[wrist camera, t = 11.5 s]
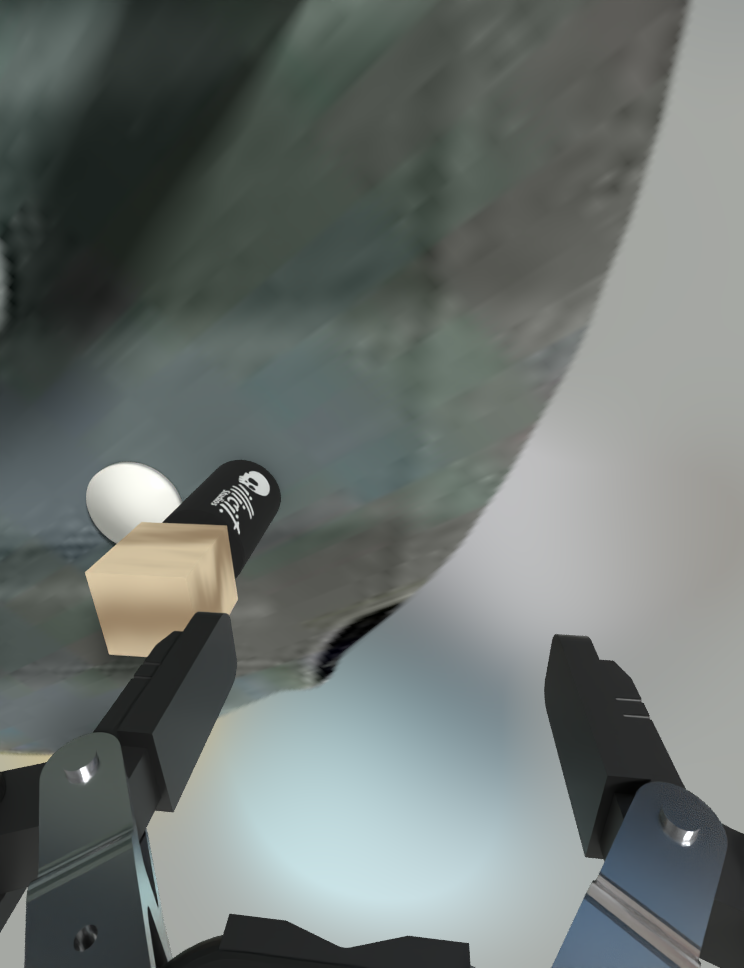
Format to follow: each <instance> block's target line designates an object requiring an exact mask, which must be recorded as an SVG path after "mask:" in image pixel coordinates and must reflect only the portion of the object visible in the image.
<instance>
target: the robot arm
mask: <svg viewBox="0 0 744 968" xmlns="http://www.w3.org/2000/svg"><path fill="white" fill-rule="evenodd" d="M236 669H237V658H236V652H235V645H234V639H233V633H232V626H231V620H230V617H229V615H228V614H227V613H216V612H200V611H199V612H196V613H195V614H194V616H193V617H192V618H191V620H190V621H189V623H188V624H187V626H186V627H185V629H184V630H183V631H173V632H172V633H171V634H169V635H168V636H167V637H165V638H164V639H163V640H161V641H160V642H159V643H158V644H156V645H155V647H154V648H153V650H152V651H151V652H150V654H149V655H148V656H147V658H146V659H145V661H144V664H143V665H141V666H140V668H139V669H138V670H137V672H136V673H135V675H134V678H133V679H131V680H130V682H129V683H128V684H127V686H126V687H125V689H124V690H123V691H122V693H121V694H120V696H119V697H118V698H117V700H116V701H115V703H114V704H113V705H112V707H111V708H110V710H109V711H108V712H107V714H106V715H105V717H104V718H103V719H102V721H101V722H100V724H99V725H98V726H97V728H96V729H95V730H94V732H93V733H90V734H86V735H83V736H80V737H78V738H76V739H73V740H72V741H70V742H68V743H67V744H65V745H64V746H62V747H61V748H60V749H59V750H57V751H56V752H55V753H54V754H53V755H52V756H51V757H50V759H49V760H48V761H47V762H45V763H41V764H36V765H32V766H27V767H22V768H17V769H12V770H7V771H3V772H0V932H1V930H2V929H3V927H4V925H5V924H6V922H7V920H8V918H9V917H10V915H11V913H12V912H13V910H14V908H15V907H16V904H17V903H18V902H19V900H20V898H21V897H22V895H23V893H24V891H25V890H26V888H27V887H28V890H27V899H26V928H25V962H24V968H475V967H473V966H471V965H470V952H469V943H462V942H453V941H446V940H438V939H430V938H422V937H413V936H405V937H400V938H395V939H390V940H385V941H380V942H375V943H371V944H365V945H361V946H356V947H351V948H343V947H339V946H337V945H335V944H333V943H331V942H329V941H327V940H324V939H322V938H320V937H318V936H316V935H314V934H312V933H310V932H308V931H306V930H304V929H302V928H300V927H298V926H296V925H294V924H292V923H290V922H288V921H284V920H276V919H268V918H260V917H252V916H244V915H236V914H229V917H228V921H227V924H226V927H225V930H224V934H223V935H221V936H217V937H213V938H211V939H208V940H205V941H202V942H200V943H198V944H196V945H194V946H192V947H190V948H188V949H187V950H185V951H183V952H182V953H180V954H179V955H177V956H176V957H174V958H173V957H172V953H171V948H170V944H169V940H168V937H167V932H166V928H165V924H164V919H163V914H162V908H161V904H160V897H159V892H158V887H157V881H156V875H155V870H154V864H153V859H152V853H151V848H150V843H149V837H148V832H147V829H146V827H147V825H148V823H149V821H150V819H151V817H152V815H153V813H154V811H155V810H156V811H165V812H174V810H175V808H176V806H177V803H178V801H179V799H180V797H181V795H182V793H183V791H184V789H185V786H186V784H187V782H188V780H189V778H190V775H191V773H192V771H193V769H194V767H195V765H196V763H197V761H198V758H199V756H200V754H201V752H202V750H203V747H204V746H205V743H206V741H207V739H208V737H209V735H210V733H211V730H212V728H213V726H214V724H215V722H216V720H217V718H218V715H219V713H220V711H221V709H222V707H223V705H224V703H225V700H226V698H227V696H228V694H229V692H230V690H231V688H232V685H233V683H234V679H235V675H236ZM544 692H545V693H544V694H545V705H546V710H547V714H548V718H549V722H550V726H551V729H552V733H553V737H554V741H555V744H556V748H557V752H558V756H559V760H560V763H561V767H562V771H563V775H564V779H565V782H566V786H567V790H568V794H569V798H570V801H571V805H572V809H573V813H574V817H575V820H576V824H577V828H578V831H579V835H580V839H581V843H582V847H583V851H584V854H585V857H588V858H598V859H604V864H603V866H602V868H601V871H600V873H599V875H598V877H597V879H596V880H595V881H593V882H592V883H591V885H590V887H589V888H588V890H587V892H586V894H585V897H584V899H583V901H582V903H581V905H580V907H579V909H578V912H577V914H576V916H575V918H574V920H573V922H572V924H571V927H570V929H569V931H568V933H567V935H566V937H565V939H564V942H563V944H562V946H561V948H560V950H559V952H558V954H557V957H556V959H555V961H554V963H553V965H552V967H551V968H701V963H700V961H699V958H701V959H703V960H705V961H707V962H709V963H712V964H713V965H716V966H718V967H720V968H744V834H743V833H740V832H738V831H736V830H733V829H731V828H729V827H728V826H725V825H724V824H722V823H721V821H720V820H719V818H718V817H717V815H716V814H715V813H714V812H713V810H712V809H711V808H710V807H709V806H708V805H707V804H706V803H705V802H704V801H702V800H701V799H700V798H699V797H697V796H696V795H694V794H693V793H691V792H690V791H688V790H686V788H685V786H684V785H683V783H682V781H681V779H680V777H679V775H678V773H677V771H676V769H675V767H674V765H673V762H672V760H671V758H670V757H669V754H668V753H667V750H666V748H665V746H664V744H663V742H662V740H661V738H660V736H659V734H658V732H657V730H656V728H655V726H654V724H653V722H652V720H650V718H649V713H648V711H647V709H646V707H645V705H644V703H642V702H641V697H640V695H639V693H638V691H637V689H636V687H635V685H634V683H633V681H632V679H631V678H630V677H629V676H628V675H627V674H626V673H625V672H624V671H623V670H622V669H621V668H620V667H619V666H618V665H617V664H616V663H615V662H614V661H610V660H599V657H598V655H597V653H596V651H595V648H594V646H593V644H592V641H591V639H590V638H589V637H587V636H575V635H559V634H555V635H554V637H553V639H552V644H551V650H550V656H549V662H548V667H547V673H546V678H545V687H544Z"/></svg>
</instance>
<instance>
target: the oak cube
mask: <svg viewBox="0 0 744 968" xmlns="http://www.w3.org/2000/svg"><path fill="white" fill-rule="evenodd" d="M85 574H86V577H87V580H88V584H89V587H90V591H91V594H92V597H93V601H94V604H95V608H96V611H97V614H98V618H99V621H100V625H101V628H102V631H103V635H104V638H105V641H106V645H107V648H108V652H109V654H110V655H124V656H138V657H147V656H148V655H149V654H150V652H151V651H152V650H153V648H154V647H155V645H156V644H158V643H159V642H160V641H161V640H163V639H164V638H165V637H167V636H168V635H169V634H171V633H172V632H173V631H183V630H184V629H185V627H186V626H187V624H188V623H189V621H190V620H191V618H192V617H193V616H194V614H195V613H196V612H199V611H200V612H216V613H227V614H228V615H229V614H230V613H231V611H232V609H233V607H234V606H235V604H236V602H237V600H238V597H237V590H236V583H235V577H234V570H233V563H232V557H231V550H230V543H229V537H228V530H227V526H225V525H200V524H176V523H152V522H141V523H140V524H139V525H137V526H136V527H135V528H134V529H133V530H132V531H131V532H130V533H129V534H127V535H126V536H125V537H124V538H123V539H122V540H121V541H120V542H118V543H117V544H116V545H115V546H114V547H113V548H112V549H111V550H110V551H108V552H107V553H106V554H105V555H104V556H103V557H102V558H101V559H100V560H98V561H97V562H96V563H95V564H94V565H93V566H92V567H91V568H89V569H88V570H87V571H86V572H85Z"/></svg>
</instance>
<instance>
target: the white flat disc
mask: <svg viewBox="0 0 744 968" xmlns="http://www.w3.org/2000/svg"><path fill="white" fill-rule="evenodd" d="M86 502H87V507H88V511H89V514H90V516H91V518H92V520H93V522H94V523H95V525H96V526H97V527H98V529H99V530H100V531H101V532H102V533H103V534H104V535H105V536H106V537H108V538H109V539H110V540H112V541H113V542H115V543H116V544H117V543H118V542H120V541H121V540H122V539H123V538H124V537H125V536H126V535H127V534H129V533H130V532H131V531H132V530H133V529H134V528H135V527H136V526H137V525H139V524H140V523H141V522H152V523H162V522H163V521H164V520H165V519H166V518H167V517H168V516H169V515H170V514H171V513H172V512H173V511H174V510H175V509H176V508H177V507H178V506H179V505H180V504H181V503H182V500H181V497H180V495H179V493H178V491H177V490H176V488H175V487H174V485H173V484H172V483H171V482H170V481H169V480H168V479H167V478H166V477H165V476H164V475H162V474H161V473H160V472H158V471H157V470H155V469H153V468H151V467H149V466H147V465H144V464H141V463H137V462H118V463H115V464H112V465H110V466H108V467H106V468H104V469H103V470H101V471H100V472H98V473H97V474H96V475H95V476H94V477H93V478H92V480H91V481H90V483H89V485H88V488H87V494H86Z"/></svg>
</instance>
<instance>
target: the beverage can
mask: <svg viewBox="0 0 744 968" xmlns="http://www.w3.org/2000/svg"><path fill="white" fill-rule="evenodd" d="M280 502H281V495H280V489H279V486H278V484H277V482H276V480H275V479H274V477H273V476H272V475H271V474H270V473H269V472H268V471H267V470H266V469H265V468H263V467H262V466H260V465H258V464H256V463H254V462H251V461H246V460H235V461H230V462H227V463H225V464H223V465H221V466H220V467H219V468H218V469H216V470H215V471H214V472H213V473H212V474H211V475H210V476H209V477H208V478H207V479H206V480H205V481H204V482H203V483H202V484H201V485H200V486H199V487H198V488H197V489H196V490H195V491H194V492H193V493H192V494H191V495H190V496H189V497H188V498H187V499H186V500H184V501H183V502H182V503H181V504H180V505H179V506H178V507H177V508H176V509H175V510H174V511H173V512H172V513H171V514H170V515H169V516H168V517H167V518H166V519H165V520H164V521H163V522H162V523H176V524H200V525H225V526H227V530H228V537H229V543H230V550H231V557H232V563H233V570H234V577H235V578H236V577H237V576H238V575H239V574H240V572H241V571H242V569H243V567H244V566H245V564H246V562H247V561H248V559H249V557H250V556H251V554H252V553H253V551H254V549H255V548H256V546H257V544H258V543H259V541H260V539H261V538H262V536H263V535H264V533H265V531H266V530H267V528H268V526H269V525H270V523H271V521H272V520H273V518H274V516H275V515H276V513H277V511H278V509H279V507H280Z"/></svg>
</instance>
